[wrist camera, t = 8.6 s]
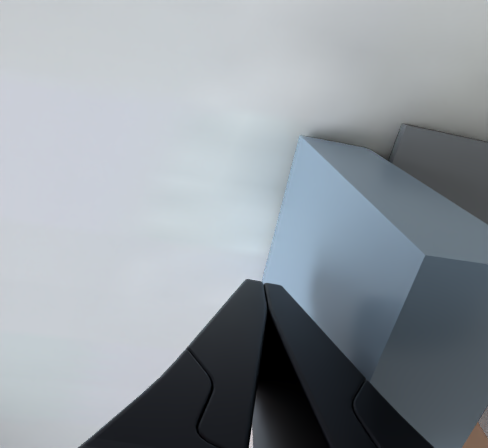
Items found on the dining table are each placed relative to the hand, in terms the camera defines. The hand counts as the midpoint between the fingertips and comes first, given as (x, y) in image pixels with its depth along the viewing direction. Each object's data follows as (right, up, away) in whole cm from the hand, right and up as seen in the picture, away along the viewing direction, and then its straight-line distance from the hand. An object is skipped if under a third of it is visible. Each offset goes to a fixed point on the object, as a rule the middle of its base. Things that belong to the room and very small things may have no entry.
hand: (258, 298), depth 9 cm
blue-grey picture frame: (+2, +2, +5) cm, 6 cm away
